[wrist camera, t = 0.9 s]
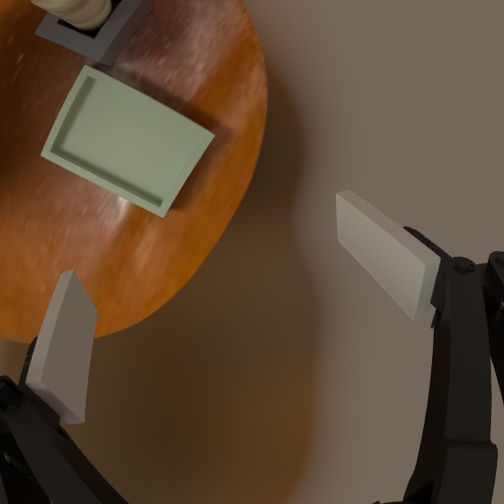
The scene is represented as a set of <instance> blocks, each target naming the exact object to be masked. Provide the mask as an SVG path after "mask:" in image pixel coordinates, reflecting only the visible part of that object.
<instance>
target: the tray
mask: <svg viewBox="0 0 504 504" xmlns="http://www.w3.org/2000/svg"><path fill="white" fill-rule="evenodd" d="M214 136H215V134H214V133H213V132H211V131H210V130H208V129H206V128H205V127H203V126H201V125H200V124H198V123H196V122H195V121H193V120H191V119H189V118H188V117H186V116H184V115H183V114H181V113H179V112H177V111H176V110H174V109H172V108H170V107H169V106H167V105H165V104H163V103H161V102H160V101H158V100H156V99H154V98H152V97H150V96H149V95H147V94H145V93H143V92H141V91H139V90H137V89H136V88H134V87H132V86H130V85H128V84H126V83H124V82H122V81H120V80H118V79H116V78H114V77H112V76H110V75H108V74H106V73H104V72H102V71H100V70H98V69H96V68H94V67H92V66H89V65H85V66H84V67H83V69H82V71H81V72H80V74H79V76H78V78H77V79H76V81H75V83H74V85H73V87H72V89H71V90H70V92H69V94H68V96H67V98H66V100H65V102H64V104H63V106H62V108H61V110H60V112H59V114H58V116H57V118H56V121H55V123H54V125H53V127H52V129H51V132H50V134H49V136H48V138H47V141H46V143H45V146H44V148H43V151H42V153H41V156H42V157H44V158H46V159H48V160H50V161H52V162H54V163H55V164H57V165H59V166H61V167H63V168H65V169H67V170H69V171H71V172H73V173H75V174H77V175H79V176H81V177H83V178H85V179H87V180H89V181H91V182H93V183H95V184H97V185H99V186H101V187H103V188H105V189H106V190H108V191H110V192H112V193H114V194H116V195H118V196H120V197H122V198H124V199H126V200H128V201H130V202H132V203H134V204H136V205H138V206H140V207H142V208H144V209H146V210H148V211H150V212H152V213H154V214H156V215H158V216H160V217H162V218H164V216H165V214H166V212H167V211H168V209H169V207H170V206H171V204H172V202H173V201H174V199H175V197H176V196H177V194H178V192H179V191H180V189H181V188H182V186H183V184H184V183H185V181H186V180H187V178H188V176H189V175H190V173H191V172H192V170H193V168H194V167H195V165H196V164H197V162H198V161H199V159H200V158H201V156H202V154H203V153H204V151H205V150H206V148H207V147H208V145H209V144H210V142H211V141H212V139H213V138H214Z"/></svg>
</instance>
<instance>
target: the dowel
mask: <svg viewBox="0 0 504 504" xmlns="http://www.w3.org/2000/svg"><path fill="white" fill-rule="evenodd" d="M30 1H31V2H32V3H33V4H35V5H37V6H39V7H41V8H43V9H44V10H46V11H48V12H50V13H52V14H54V15H56V16H57V17H59V18H61V19H63V20H65V21H66V22H68V23H70V24H72V25H73V26H75V27H77V28H79V29H80V30H82V31H84V32H85V33H87V34H89V35H90V36H93V37H96V36H97V34H98V33H99V31H100V30H101V28H102V27H103V26H104V24H105V23H106V21H107V20H108V18H109V17H110V16H111V14H112V13H113V12H114V10H115V9H116V7H115V6H114V4H113V3H112V1H111V0H30Z"/></svg>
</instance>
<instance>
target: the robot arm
mask: <svg viewBox="0 0 504 504" xmlns="http://www.w3.org/2000/svg"><path fill="white" fill-rule="evenodd" d="M336 209H337V231H338V241H339V242H340V243H341V244H342V245H343V246H344V247H345V248H346V249H347V251H349V253H351V255H352V256H353V257H354V258H355V259H356V260H357V261H358V262H359V263H360V264H361V265H362V266H363V267H364V268H365V269H366V270H367V271H368V272H369V273H370V274H371V276H372V277H373V278H374V279H375V280H376V281H377V282H378V283H379V284H380V285H381V286H382V287H383V289H384V290H385V291H386V292H387V293H388V294H389V295H390V296H391V297H392V298H393V299H394V301H395V302H396V303H397V304H398V305H399V306H400V307H401V308H402V309H403V311H404V312H405V313H406V314H407V315H408V316H409V317H410V318H411V320H412V321H416V320H417V319H420V318H421V317H423V316H425V315H427V314H428V311H429V306H430V303H431V304H432V305H433V306H434V307H435V308H436V311H435V314H434V318H433V321H432V324H431V328H433V326H434V338H433V339H434V340H433V355H432V367H431V377H430V387H429V395H428V402H427V409H426V416H425V422H424V428H423V433H422V438H421V444H420V449H419V453H418V458H417V462H416V466H415V469H414V472H413V474H412V476H411V478H410V480H409V483H408V485H407V488H406V491H405V494H404V498H403V501H400V502H388V503H383V504H491V501H492V496H493V489H494V483H495V477H496V469H497V459H498V449H497V447H496V445H495V444H493V443H492V442H491V440H490V431H491V403H492V401H491V400H492V398H491V397H492V395H491V391H492V390H491V362H490V356H491V359H492V362H493V366H494V369H495V373H496V376H497V380H498V384H499V387H500V391H501V395H502V400H503V403H504V306H503V304H502V303H504V252H501V251H495V252H492V253H491V254H490V256H489V260H488V263H484V264H477V265H476V264H475V263H474V262H473V261H471V260H469V259H468V258H464V257H453V258H451V256H449V255H448V254H447V253H445V252H444V251H443V250H442V249H441V248H439V247H438V246H437V245H435V244H434V243H433V242H431V241H430V240H429V239H428V238H425V237H424V235H422V234H421V233H420V232H418V231H417V230H415V229H412V228H410V227H407V226H405V227H401V226H399V225H398V224H397V223H395V222H394V221H393V220H391V219H390V218H388V217H387V216H386V215H384V214H383V213H382V212H380V211H379V210H377V209H376V208H375V207H373V206H372V205H370V204H369V203H368V202H366V201H364V200H363V199H362V198H360V197H359V196H358V195H356V194H355V193H353V192H352V191H350V190H345V191H341V192H337V193H336ZM97 314H98V311H97V309H96V308H95V306H94V304H93V303H92V301H91V299H90V297H89V296H88V294H87V292H86V290H85V289H84V287H83V285H82V283H81V281H80V280H79V278H78V276H77V274H76V272H75V270H74V269H73V270H70V271H67V272H64V273H61V276H60V278H59V280H58V283H57V285H56V288H55V291H54V293H53V296H52V298H51V301H50V304H49V307H48V309H47V312H46V315H45V318H44V321H43V324H42V327H41V330H40V333H39V336H38V337H35V338H34V340H33V341H32V343H31V345H30V346H29V349H28V352H27V355H26V356H27V358H26V359H25V363H24V364H25V365H24V366H23V369H22V373H21V377H20V380H19V384H18V386H17V385H16V384H15V383H14V382H13V381H12V380H11V379H10V377H8V376H6V375H3V376H0V504H51V502H52V503H53V504H129V503H128V502H127V501H126V500H125V499H124V498H123V497H122V496H121V495H120V494H119V493H118V492H117V491H116V490H115V489H114V488H113V487H112V486H111V485H110V484H109V483H108V482H107V480H106V479H105V478H104V477H103V476H102V475H101V474H100V473H99V472H98V471H97V469H96V468H95V467H94V466H93V465H92V464H91V462H90V461H89V460H88V459H87V458H86V456H85V455H84V454H83V453H82V452H81V450H80V449H79V448H78V447H77V445H76V444H75V443H74V442H73V440H72V439H71V438H70V436H69V435H68V433H67V432H66V431H65V429H64V428H63V427H61V426H60V425H59V423H60V417H61V418H62V419H63V420H64V421H66V422H67V423H68V424H76V423H84V417H85V403H86V392H87V382H88V373H89V365H90V357H91V350H92V343H93V337H94V331H95V325H96V319H97ZM5 457H6V458H7V460H6V458H5ZM50 500H51V502H50ZM373 504H380V502H379V501H377V502H375V503H373Z"/></svg>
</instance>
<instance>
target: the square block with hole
mask: <svg viewBox="0 0 504 504" xmlns="http://www.w3.org/2000/svg"><path fill="white" fill-rule="evenodd" d="M111 1H112V3H113V4H114V6H115V7H116V9H115V10H114V12H113V13H112V14H111V16H110V17H109V18H108V20H107V21H106V23H105V24H104V26H103V27H102V28H101V30H100V31H99V33H98V34H97V36H96V37H93V36H90V35H89V34H87V33H85V32H84V31H82V30H80V29H79V28H77V27H75V26H73V25H72V24H70V23H68V22H66V21H65V20H63V19H61V18H59V17H57V16H56V15H54V14H52V13H50V12H47V14H46V15H45V17H44V19H43V20H42V22H41V23H40V25H39V27H38V28H37V30H36V32H35V33H34V34H35V35H38V36H40V37H43V38H45V39H48V40H50V41H52V42H55V43H57V44H59V45H62V46H64V47H66V48H68V49H71V50H73V51H75V52H77V53H79V54H81V55H84V56H86V57H88V58H90V59H92V60H94V61H96V62H98V63H101V64H105V65H108V66H111V67H112V65H113V63H114V62H115V60H116V59H117V57H118V56H119V54H120V53H121V51H122V50H123V48H124V47H125V45H126V44H127V42H128V41H129V39H130V38H131V37H132V35H133V34H134V32H135V31H136V30H137V28H138V27H139V26H140V24H141V23H142V22H143V20H144V19H145V18H146V16H147V15H148V14H149V13H150V11H151V10H152V9H153V7H154V4H153V0H111Z"/></svg>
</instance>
